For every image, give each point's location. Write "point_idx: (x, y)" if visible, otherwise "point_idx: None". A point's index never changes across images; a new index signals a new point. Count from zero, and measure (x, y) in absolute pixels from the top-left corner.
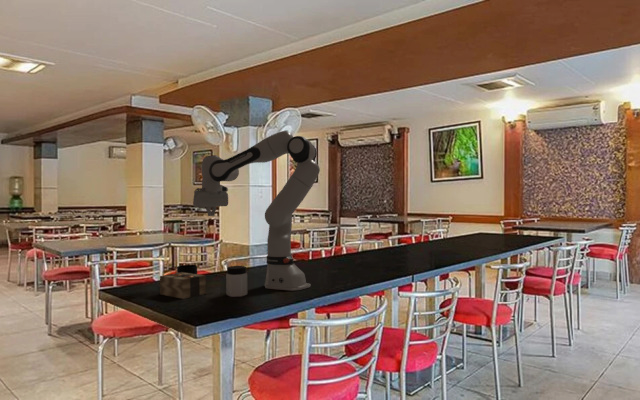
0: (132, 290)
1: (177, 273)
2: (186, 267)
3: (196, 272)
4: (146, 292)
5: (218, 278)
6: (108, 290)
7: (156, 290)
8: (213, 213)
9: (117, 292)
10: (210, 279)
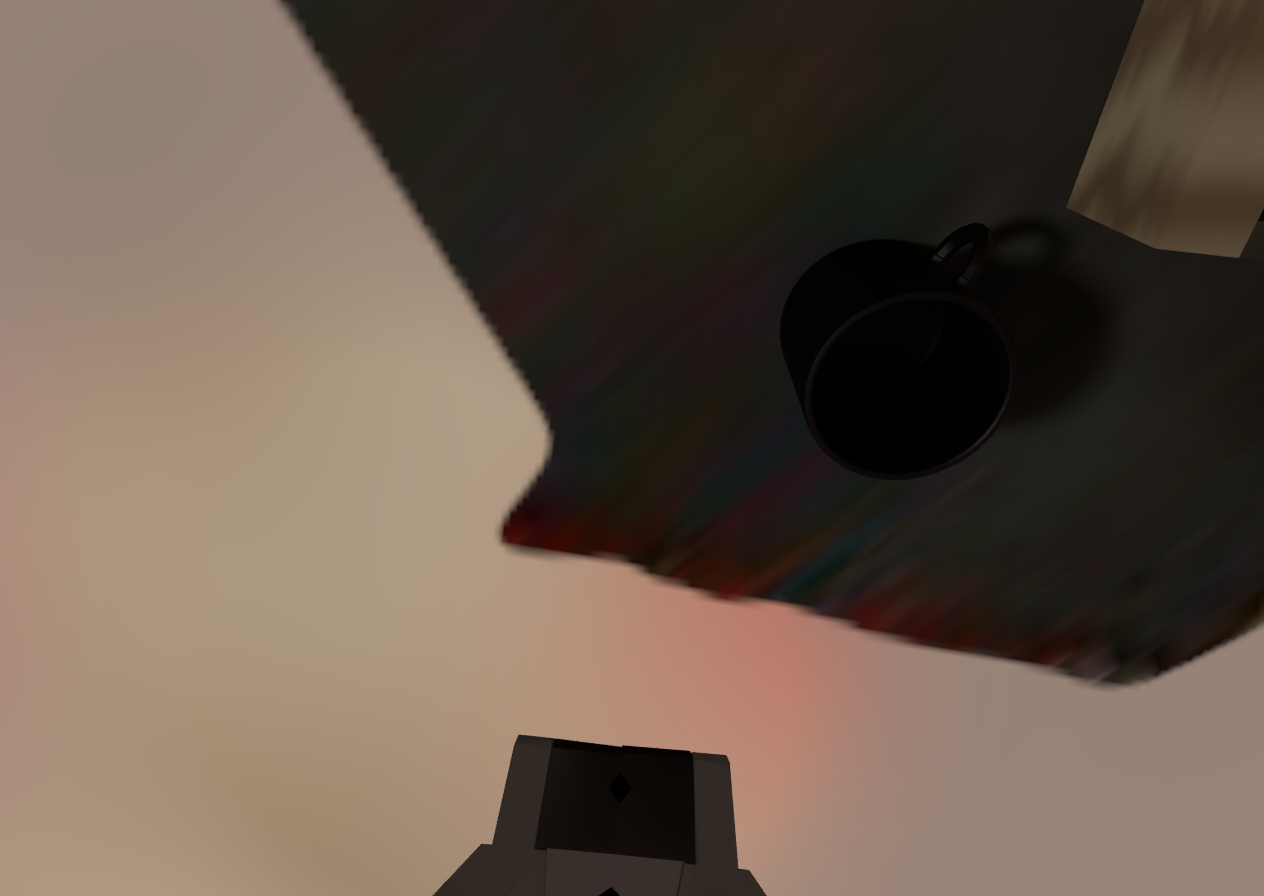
0: (1173, 522)
1: (1251, 231)
2: (832, 442)
3: (871, 277)
4: (1231, 387)
5: (502, 290)
6: (1198, 641)
7: (1142, 377)
8: (563, 806)
9: (1257, 555)
10: (576, 321)
